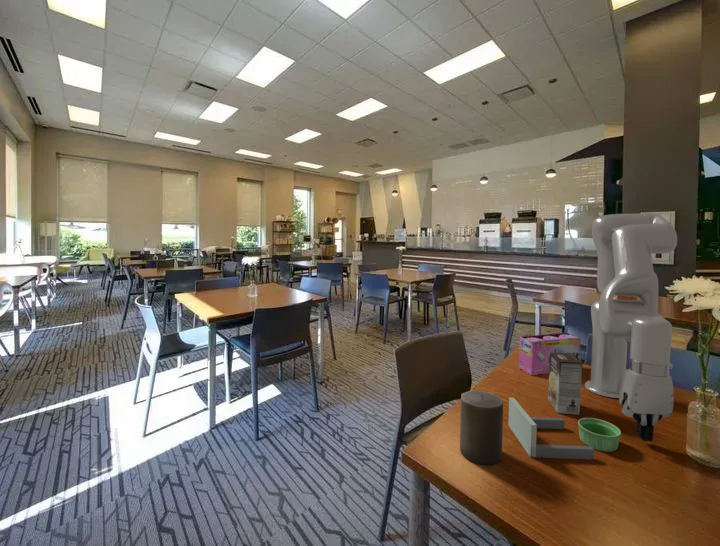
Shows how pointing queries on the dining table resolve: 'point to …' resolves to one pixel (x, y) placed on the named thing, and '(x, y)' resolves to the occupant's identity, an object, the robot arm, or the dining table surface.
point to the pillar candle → (481, 427)
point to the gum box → (545, 350)
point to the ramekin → (599, 434)
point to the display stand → (526, 435)
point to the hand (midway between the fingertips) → (644, 438)
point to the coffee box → (565, 383)
